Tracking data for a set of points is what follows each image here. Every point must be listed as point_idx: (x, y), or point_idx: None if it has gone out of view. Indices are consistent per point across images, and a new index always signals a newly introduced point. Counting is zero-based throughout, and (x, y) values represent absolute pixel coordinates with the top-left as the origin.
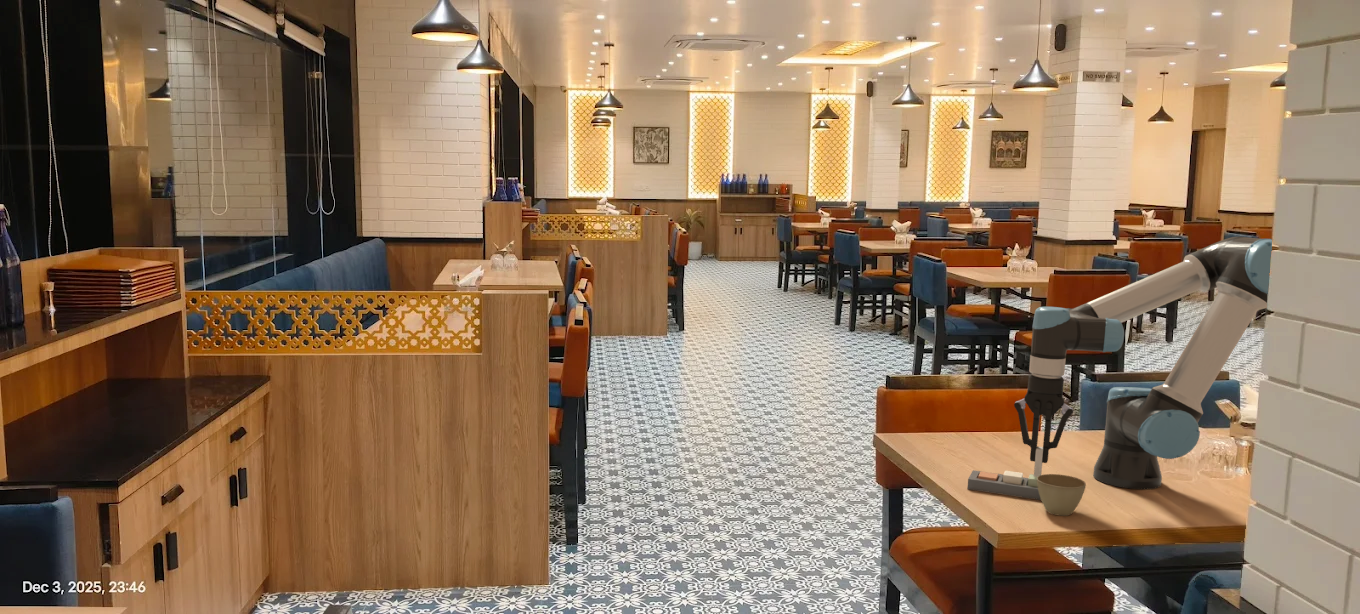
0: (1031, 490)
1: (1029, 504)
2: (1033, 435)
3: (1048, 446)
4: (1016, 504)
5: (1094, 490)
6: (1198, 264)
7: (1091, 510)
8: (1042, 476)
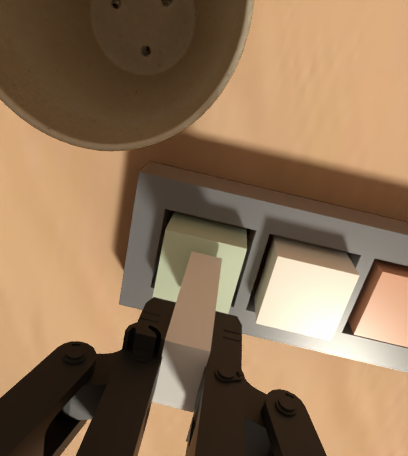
0: (237, 191)
1: (258, 98)
2: (231, 447)
3: (121, 356)
4: (317, 79)
5: (6, 331)
6: None
7: None
8: (201, 105)
